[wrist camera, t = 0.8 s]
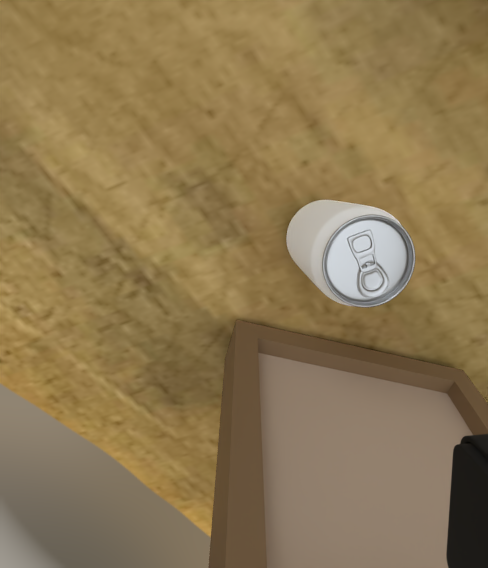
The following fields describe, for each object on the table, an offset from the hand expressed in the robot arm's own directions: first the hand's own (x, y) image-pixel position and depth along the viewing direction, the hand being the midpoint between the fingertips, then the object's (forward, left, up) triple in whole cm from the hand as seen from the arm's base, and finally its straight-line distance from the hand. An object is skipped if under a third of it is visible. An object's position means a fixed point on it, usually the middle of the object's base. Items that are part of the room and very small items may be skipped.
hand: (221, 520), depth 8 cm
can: (-7, +5, -29) cm, 31 cm away
